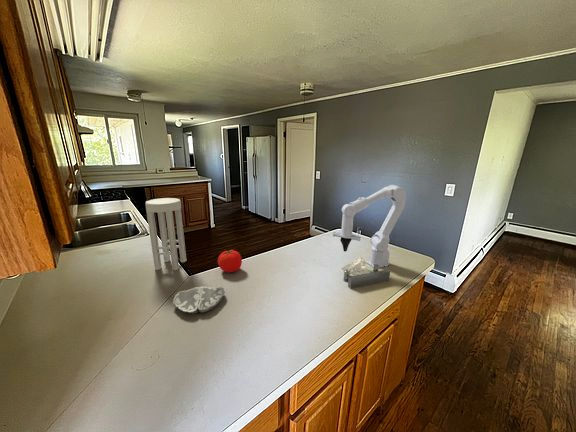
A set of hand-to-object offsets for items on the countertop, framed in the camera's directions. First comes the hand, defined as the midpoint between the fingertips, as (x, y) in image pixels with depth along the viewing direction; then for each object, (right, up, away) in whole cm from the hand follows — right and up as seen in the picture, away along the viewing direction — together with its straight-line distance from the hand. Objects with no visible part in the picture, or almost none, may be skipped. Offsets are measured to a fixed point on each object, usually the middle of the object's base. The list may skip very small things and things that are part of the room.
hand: (345, 250), depth 129 cm
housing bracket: (+6, -12, -14) cm, 20 cm away
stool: (-94, -7, -2) cm, 94 cm away
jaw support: (+4, -11, -9) cm, 15 cm away
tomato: (-61, -9, -7) cm, 62 cm away
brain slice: (-67, -17, -33) cm, 76 cm away
